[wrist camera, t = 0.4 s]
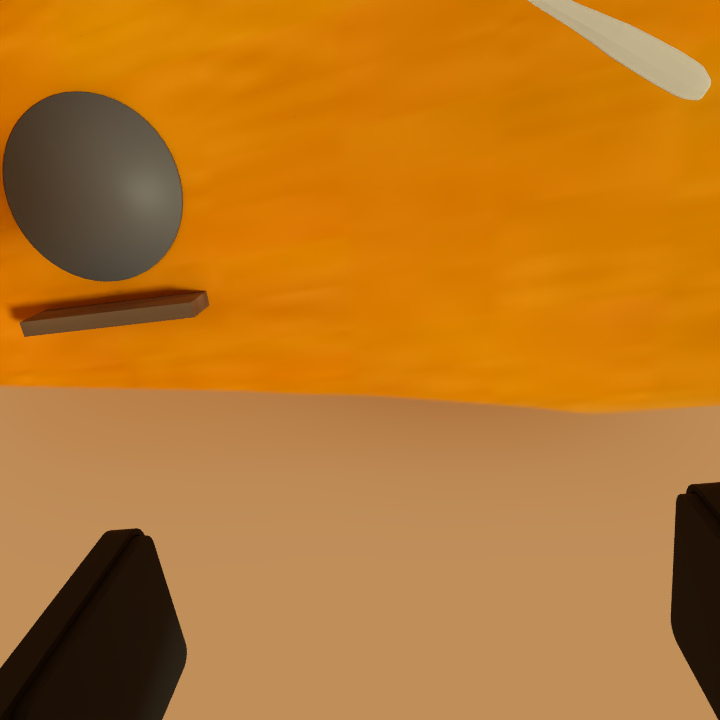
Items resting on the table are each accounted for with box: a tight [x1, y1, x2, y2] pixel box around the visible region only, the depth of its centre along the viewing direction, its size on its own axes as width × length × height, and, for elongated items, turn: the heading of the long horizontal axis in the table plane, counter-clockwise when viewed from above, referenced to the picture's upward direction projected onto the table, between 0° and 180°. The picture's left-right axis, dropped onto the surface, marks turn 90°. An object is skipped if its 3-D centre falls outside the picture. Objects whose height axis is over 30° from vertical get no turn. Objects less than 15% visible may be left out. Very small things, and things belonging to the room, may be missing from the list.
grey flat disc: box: [3, 92, 183, 281], centre depth 39 cm, size 12×12×1 cm
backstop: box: [20, 291, 209, 337], centre depth 40 cm, size 1×12×3 cm, turn 97°
